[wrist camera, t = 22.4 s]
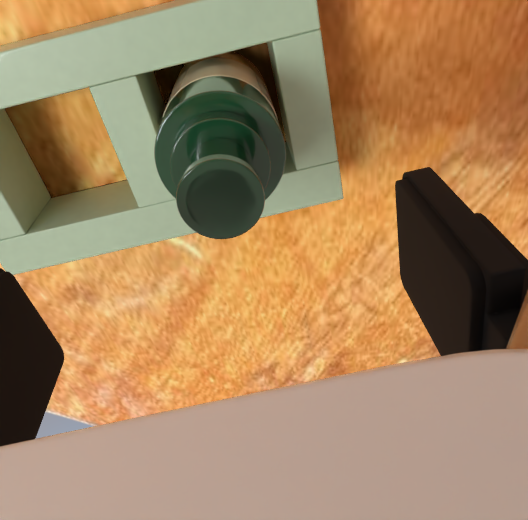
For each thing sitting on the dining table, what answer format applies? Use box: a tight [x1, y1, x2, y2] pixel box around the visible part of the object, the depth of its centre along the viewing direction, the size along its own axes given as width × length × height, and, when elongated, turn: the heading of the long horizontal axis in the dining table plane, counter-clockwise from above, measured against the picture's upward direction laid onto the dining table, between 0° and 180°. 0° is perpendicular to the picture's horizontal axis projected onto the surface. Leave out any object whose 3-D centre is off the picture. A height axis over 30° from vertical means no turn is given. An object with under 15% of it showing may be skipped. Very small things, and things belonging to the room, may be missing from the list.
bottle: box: [154, 51, 286, 239], centre depth 20 cm, size 5×5×13 cm
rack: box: [0, 0, 343, 275], centre depth 24 cm, size 11×19×4 cm, turn 102°
